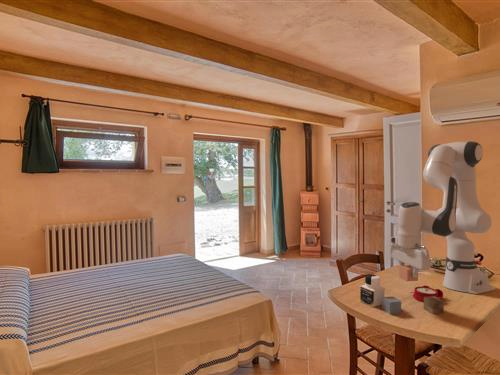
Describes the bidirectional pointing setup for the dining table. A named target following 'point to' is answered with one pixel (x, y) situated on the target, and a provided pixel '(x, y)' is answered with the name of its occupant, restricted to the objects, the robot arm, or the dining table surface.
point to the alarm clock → (426, 293)
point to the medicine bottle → (372, 291)
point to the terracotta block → (407, 273)
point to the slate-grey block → (391, 305)
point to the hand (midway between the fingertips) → (408, 274)
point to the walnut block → (433, 305)
